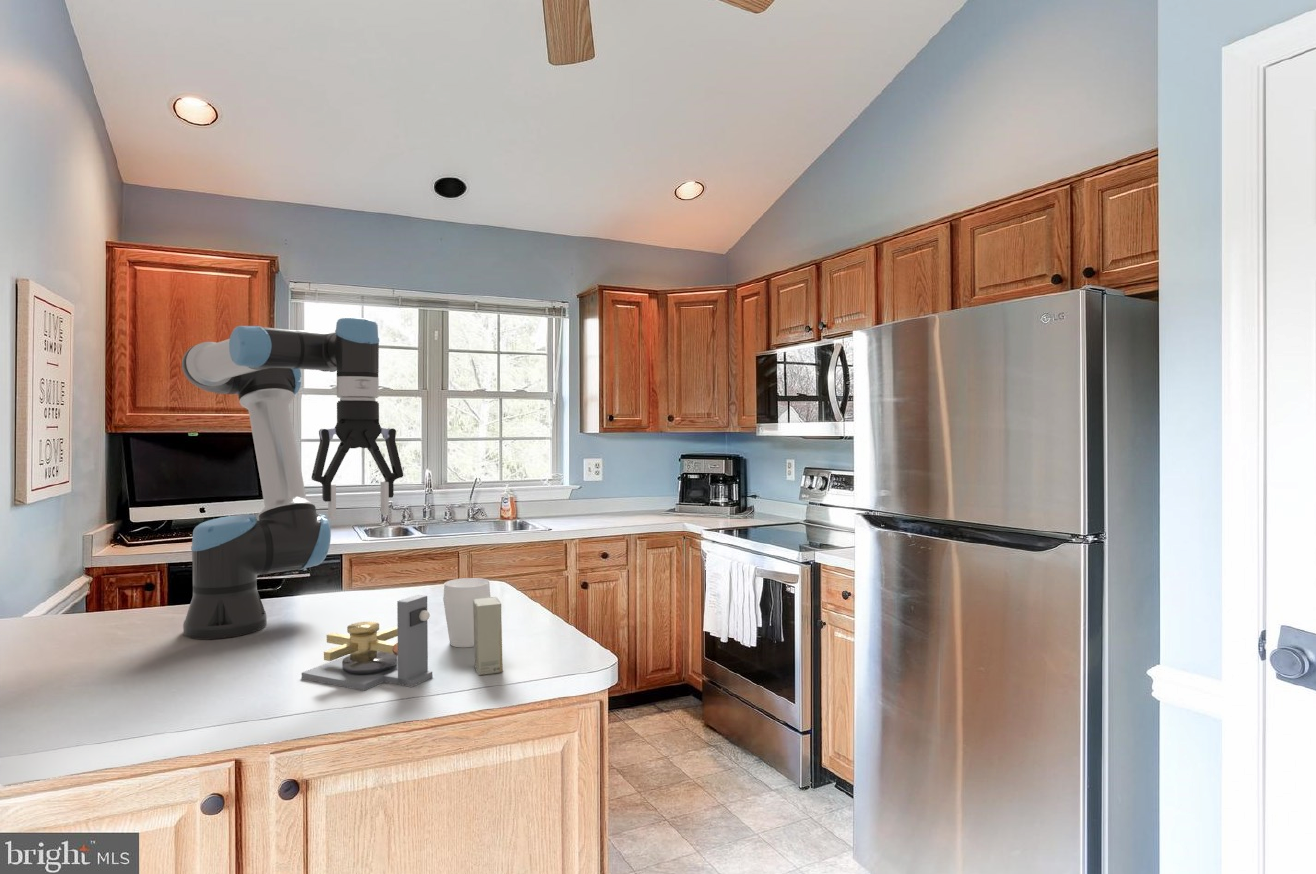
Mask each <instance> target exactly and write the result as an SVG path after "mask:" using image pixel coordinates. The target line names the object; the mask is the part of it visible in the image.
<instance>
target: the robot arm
mask: <svg viewBox="0 0 1316 874" xmlns="http://www.w3.org/2000/svg"><path fill="white" fill-rule="evenodd" d="M335 326H336V327H335V330H334V332H328V331H327V332H325V331H324V332H323V331H313V330H301V329H287V328H286V329H285V328H277V327H276V328H275V327H266V326H260V325H237V326H236V327H235V328H233V329H232V332H231V334H230V336H229V338H227V339H225V340H222V341H218V342H215V341H202V342H200V343H198V344H194V345H193V346H191V347H190V348H188V350H187V351H186V352H185V353H184V354H183V357H182V361H181V369H182V373H183V374H184V376H185V378H186V379H187V380H188V381H189V382H190V383H191V384H192V385H194V386H195V387H197V388H198V389H201V390H203V391H205V392H209V393H213V394H219V395H220V394H221V395H238V401H239V404H240V406H241V407H242V408H244V409H247V410H248V415H249V422H250V428H251V434H252V439H253V444H254V451H255V456H256V462H257V469H258V473H259V479H260V486H261V491H262V492H261V494H262V499H263V504H264V507H263V508H262V510H261V511H260V512H259V514H258V519H257V517H256V515H254V514H247V513H246V514H245V513H244V514H237V515H235V514H234V515H228V516H222V517H218V518H213V519H208V520H205V521H204V522H203V521H202V522H201V523H198V525H196V526H195V527H194V529H193V531H192V538H191V539H192V540H191V546H190V547H191V548H190V550H191V554H192V565H191V566H192V598H191V601H190V603H189V606H188V609H187V613H186V616H185V618H184V621H183V631H182V633H183V636H185V637H186V638H189V639H197V640H212V639H213V640H217V639H225V638H234V637H238V636H243V635H248V634H251V633H255V632H257V631H260V630H262V629H263V628H265V627H266V626H267V624H268V622H267V613H266V609H265V607H264V604H263V602H262V599H261V597H260V594H259V592H258V585H257V583H258V582H257V581H258V576H259V575H265V574H266V575H267V574H274V573H280V572H288V571H294V570H300V571H301V570H304V569H306V568H311V567H317V566H319V565H321V564H322V563H323V562H324V560H325V559H326V557H327V555H328V553H329V549H330V547H331V540H332V539H331V537H332V536H331V535H332V531H331V529H332V528H331V524H330V521H329V519H330V520H332V521H333V520H337V485H336V484H335V483H332V482H333V480H334V478H335V476H336V474H337V472H338V470H339V469H340V466H341V465H342V463H343V461H344V459H345V457H346V455H347V454H348V452H349V451H350V450H351V449H358V448H359V449H361V448H362V449H367V450H368V451H369V453H370V454H371V456H372V459H373V460H374V463H375V464H376V466H377V468H378V469H379V471H380V473H381V475H382V477H383V479H384V480H381V481H380V515H382V516H389V514H390V513H389V512H390V505H389V504H390V498H393V497H394V492H395V491H394V482H395V481H396V480H398V479H401V478H403V476H404V472H403V468H402V463H401V458H400V455H399V451H398V447H397V443H396V435H397V430H396V429H395V428H392V427H390V428H387V427H381V425H380V402H379V401H376V399H378V398H380V395H379V394H380V393H379V392H380V388H379V387H380V385H379V379H380V378H379V372H380V371H379V368H380V367H379V366H380V365H379V359H380V358H379V357H380V356H379V355H380V354H379V353H380V352H379V351H380V348H379V347H380V345H379V343H380V338H379V329H378V328H379V326H378V323H377V322H376V321H375V320H373V319H371V318H370V319H369V318H363V317H342V318H339V319H337V322H336V325H335ZM301 370H311V371H321V372H329V373H334V372H336V397H337V398H339V400H338V401H337V402H336V425H335V426H334V428H333V427H332V428H320V429H319V430H318V435H319V443H318V444H319V445H318V450H317V453H316V457H315V460H314V465H313V469H312V474H311V480H312V481H314V482H317V483H320V484H321V487H322V491H321V493H322V500H323V502H325V503H326V502H327V504H328V505H327V512H328V513H327V514H328V515H327V516H326V515H324V514H321V513H318V512H317V508H316V504H315V503H313V502H311V501H310V500H308V499H307V495H306V489H305V485H304V484H305V483H304V479H303V473H302V467H301V463H300V462H301V460H300V456H299V451H298V446H297V441H296V435H295V430H294V424H293V419H292V414H291V413H292V412H291V408H290V404H291V403H292V402H293V401H294V400H295V398H296V396H295V395H297V394H298V392H300V390H301V385H302V380H301V377H302V371H301ZM334 435H336V437H338V439H339V440H340V443H339V445H338V446H337V450H336V452H335V454H334V456H333V457H332V459H331V460H330V463H329V465H328V467H327V469H326V470H325V472H324V469H325V465H326V460H327V458H328V457H327V456H328V453H329V448H330V444H331V442H330V441H331V440H333V439H334ZM380 435H382V438H383V439H384V440H385V446H386V450H387V453H388V457H389V461H390V466H391V467H389V465H388V463H387V461H386V460H385V458H384V455H383V454H382V452H381V450H380V447H379V444H377V442H376V440H377V439H378V437H380ZM391 470H392V471H391ZM323 473H324V475H323Z"/></svg>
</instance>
